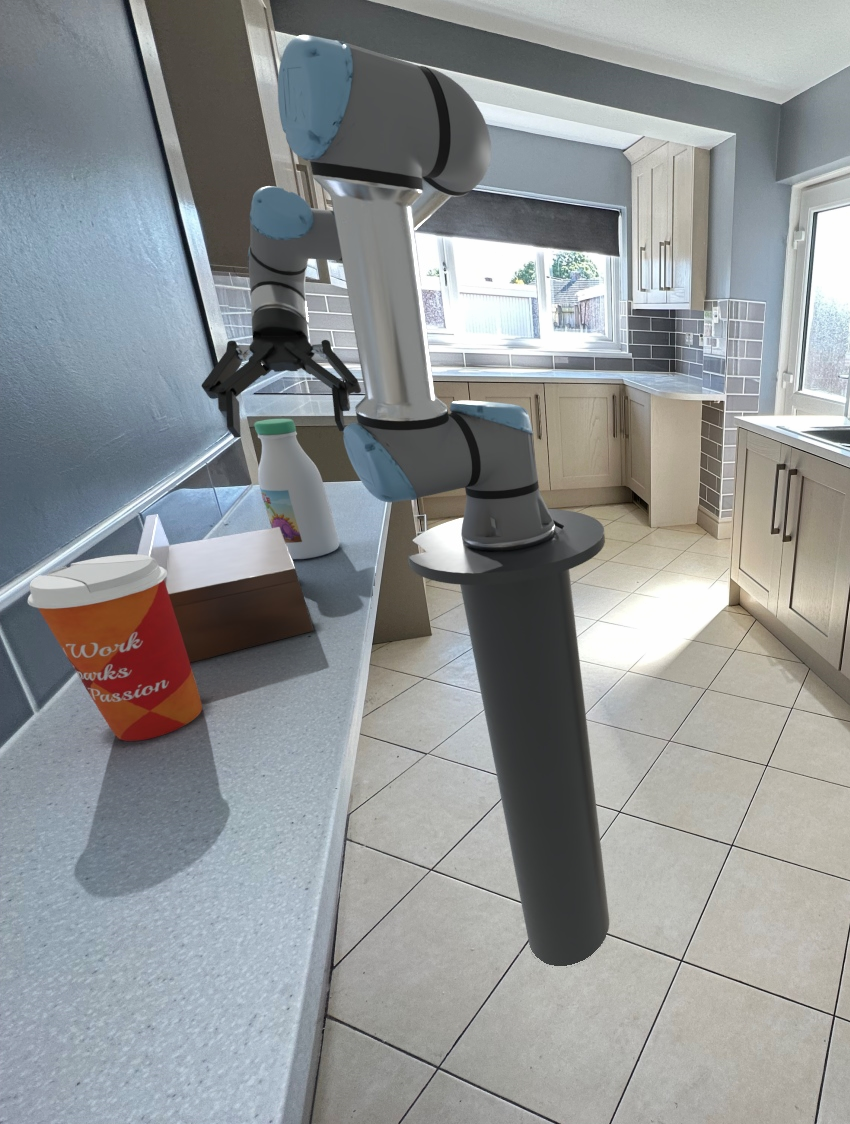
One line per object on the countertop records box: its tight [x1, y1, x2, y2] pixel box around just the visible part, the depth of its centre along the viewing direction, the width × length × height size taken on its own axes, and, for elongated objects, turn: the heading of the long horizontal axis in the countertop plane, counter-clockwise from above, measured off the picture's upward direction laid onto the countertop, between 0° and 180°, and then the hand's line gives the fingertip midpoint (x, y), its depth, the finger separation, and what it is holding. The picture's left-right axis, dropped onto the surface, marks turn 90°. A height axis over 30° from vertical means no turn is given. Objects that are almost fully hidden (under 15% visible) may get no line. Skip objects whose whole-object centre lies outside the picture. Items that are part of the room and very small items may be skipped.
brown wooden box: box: [137, 513, 315, 664], centre depth 72 cm, size 12×18×12 cm, turn 40°
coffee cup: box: [27, 554, 203, 742], centre depth 53 cm, size 8×8×15 cm
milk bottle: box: [253, 418, 340, 560], centre depth 90 cm, size 8×8×20 cm
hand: (288, 429), depth 94 cm, fingers open, 13 cm apart
